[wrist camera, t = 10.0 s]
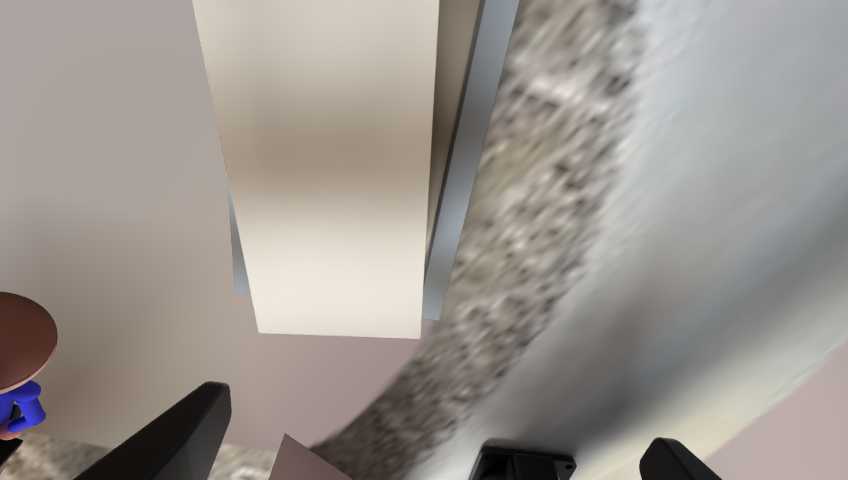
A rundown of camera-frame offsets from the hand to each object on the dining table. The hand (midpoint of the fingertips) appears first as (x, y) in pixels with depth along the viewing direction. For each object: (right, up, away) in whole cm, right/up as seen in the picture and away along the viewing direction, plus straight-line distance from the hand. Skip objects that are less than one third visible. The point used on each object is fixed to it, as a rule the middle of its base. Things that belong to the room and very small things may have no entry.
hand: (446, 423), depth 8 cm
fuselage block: (-3, +9, +7) cm, 11 cm away
